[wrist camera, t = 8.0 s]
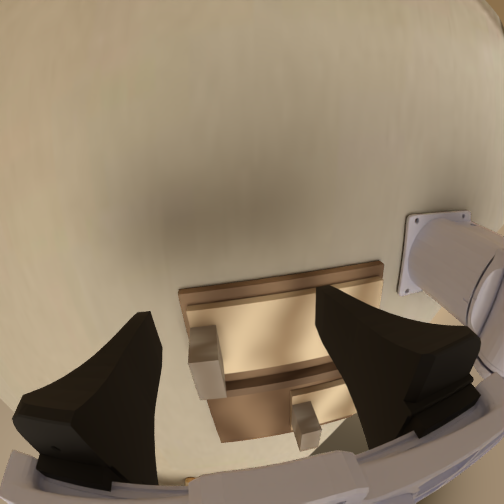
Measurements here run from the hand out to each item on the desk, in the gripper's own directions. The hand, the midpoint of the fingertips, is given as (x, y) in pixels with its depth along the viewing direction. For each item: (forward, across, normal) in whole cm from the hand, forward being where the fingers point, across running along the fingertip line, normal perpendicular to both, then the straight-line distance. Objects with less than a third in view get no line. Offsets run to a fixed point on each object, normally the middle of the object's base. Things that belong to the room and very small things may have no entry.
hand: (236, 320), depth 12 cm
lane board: (+9, -4, +14) cm, 18 cm away
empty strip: (+8, -4, +8) cm, 12 cm away
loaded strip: (+8, -12, +20) cm, 25 cm away
